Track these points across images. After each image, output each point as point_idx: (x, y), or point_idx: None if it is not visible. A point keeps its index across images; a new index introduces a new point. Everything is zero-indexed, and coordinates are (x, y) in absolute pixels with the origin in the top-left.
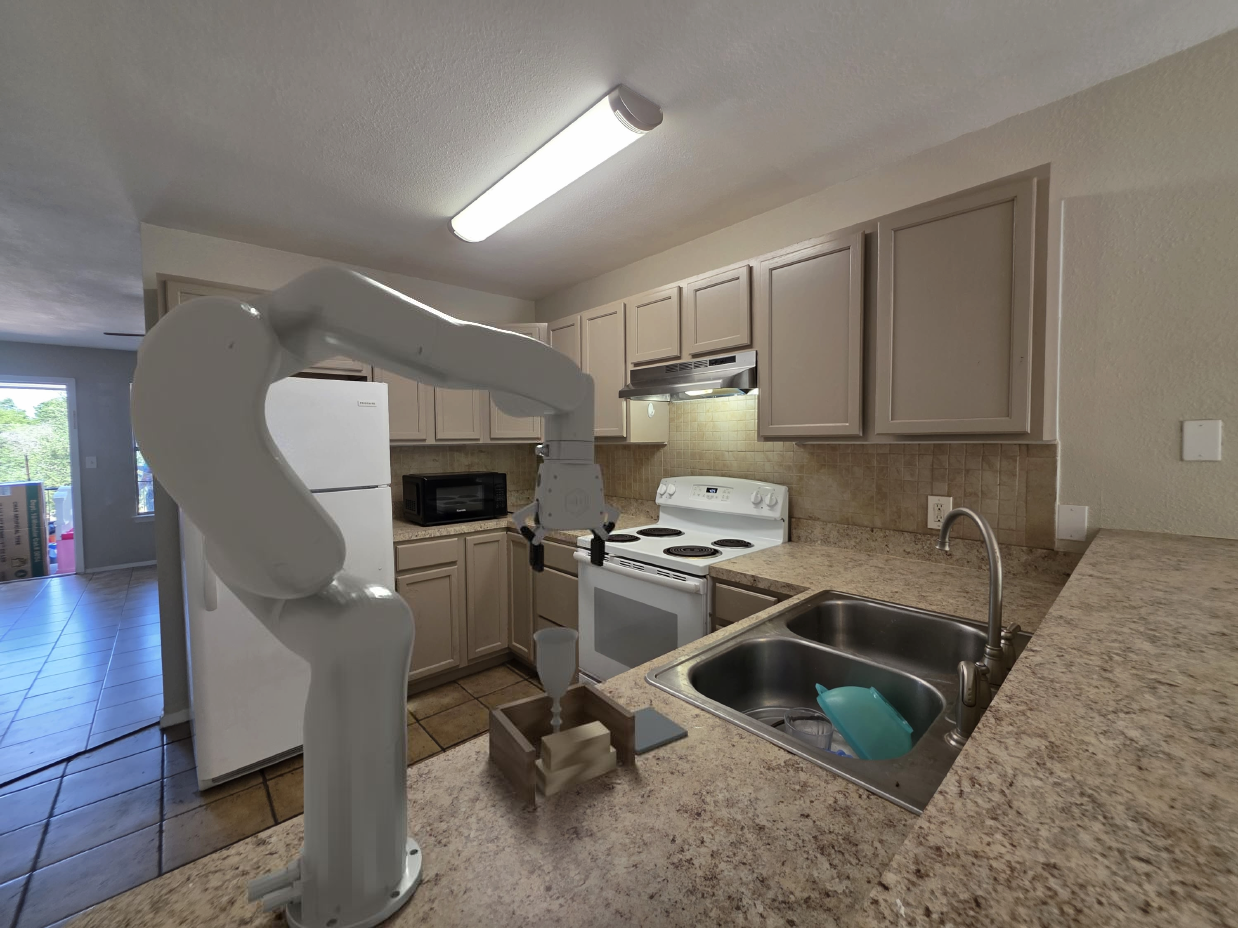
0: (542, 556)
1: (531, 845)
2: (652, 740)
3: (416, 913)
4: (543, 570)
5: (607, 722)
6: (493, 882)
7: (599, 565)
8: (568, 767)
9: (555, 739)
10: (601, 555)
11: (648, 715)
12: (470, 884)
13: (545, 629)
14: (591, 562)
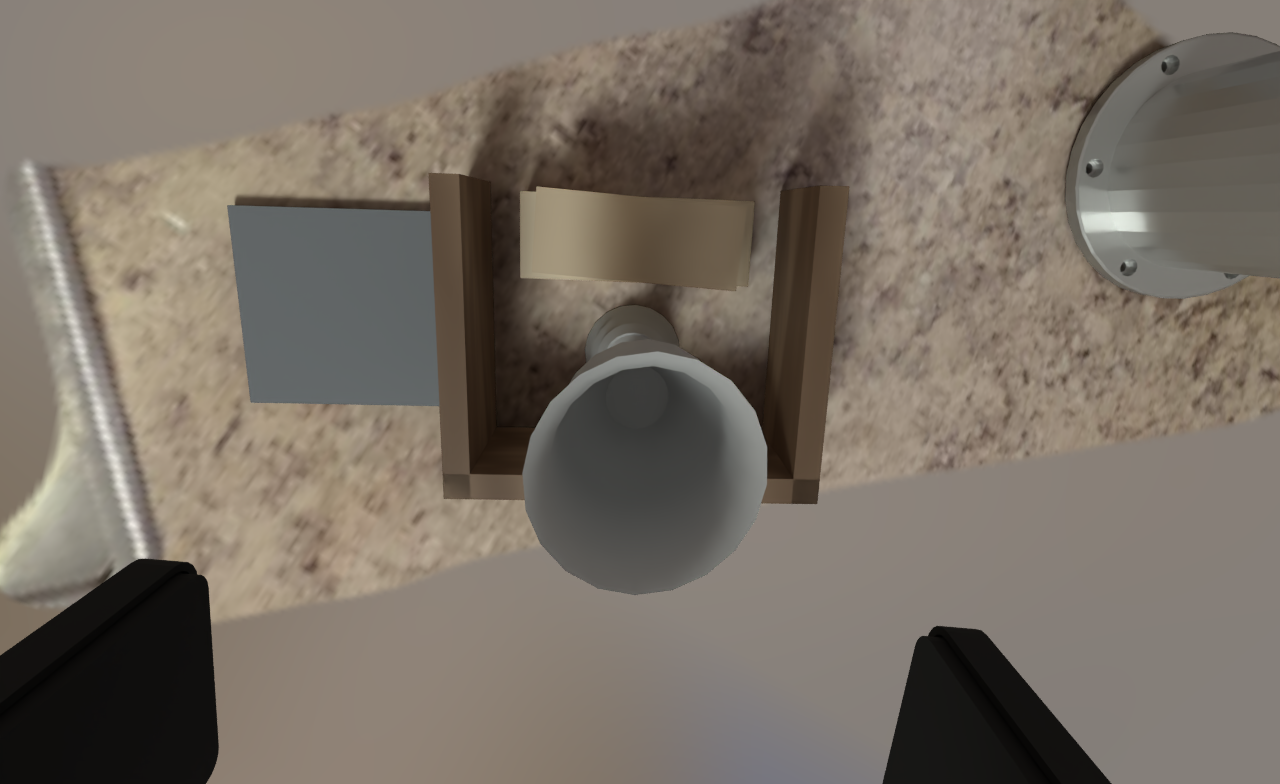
0: (1048, 750)
1: (860, 57)
2: (362, 229)
3: (1128, 25)
4: (926, 638)
5: (478, 304)
6: (978, 3)
7: (190, 575)
8: (683, 200)
9: (705, 254)
10: (70, 632)
11: (288, 357)
12: (1016, 30)
13: (645, 587)
14: (212, 745)
